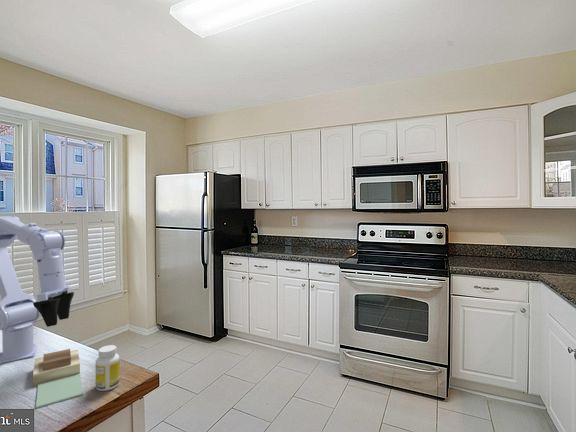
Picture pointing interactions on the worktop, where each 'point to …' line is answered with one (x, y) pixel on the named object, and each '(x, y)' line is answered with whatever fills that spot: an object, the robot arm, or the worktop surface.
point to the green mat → (58, 390)
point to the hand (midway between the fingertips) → (58, 322)
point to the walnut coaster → (56, 359)
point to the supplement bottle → (107, 368)
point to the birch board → (55, 370)
